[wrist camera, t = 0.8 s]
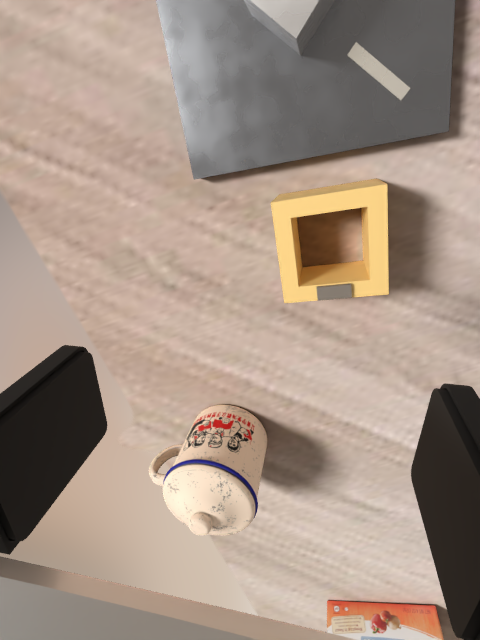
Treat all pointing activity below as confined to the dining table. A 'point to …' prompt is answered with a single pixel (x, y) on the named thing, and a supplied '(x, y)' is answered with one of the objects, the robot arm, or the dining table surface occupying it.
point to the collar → (341, 276)
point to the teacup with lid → (215, 471)
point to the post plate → (305, 76)
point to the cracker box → (383, 621)
